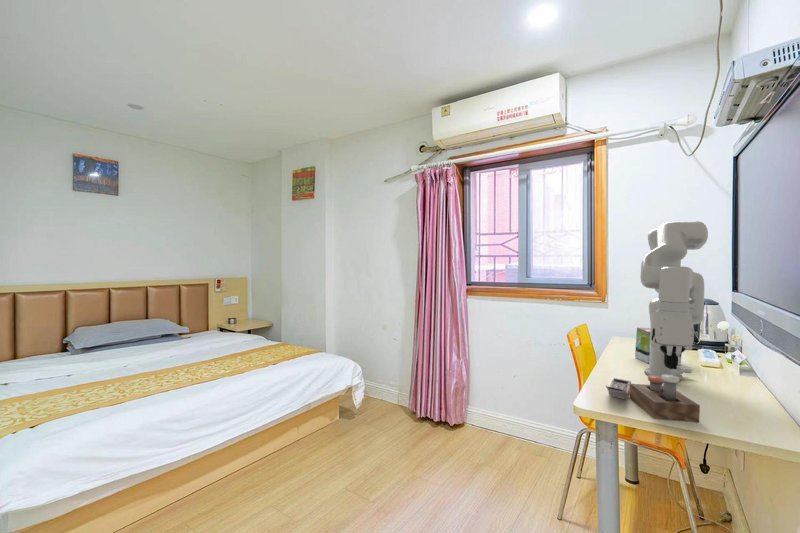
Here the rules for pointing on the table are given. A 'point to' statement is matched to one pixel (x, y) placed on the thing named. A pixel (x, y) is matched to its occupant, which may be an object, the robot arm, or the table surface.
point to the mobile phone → (619, 388)
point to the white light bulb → (669, 387)
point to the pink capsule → (655, 383)
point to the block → (664, 404)
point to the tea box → (645, 345)
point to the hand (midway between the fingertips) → (670, 367)
